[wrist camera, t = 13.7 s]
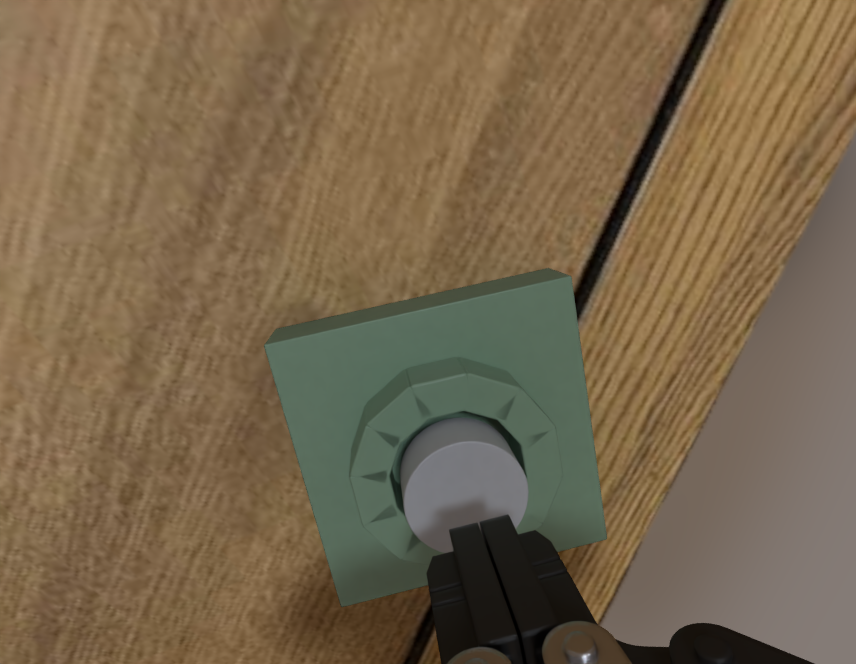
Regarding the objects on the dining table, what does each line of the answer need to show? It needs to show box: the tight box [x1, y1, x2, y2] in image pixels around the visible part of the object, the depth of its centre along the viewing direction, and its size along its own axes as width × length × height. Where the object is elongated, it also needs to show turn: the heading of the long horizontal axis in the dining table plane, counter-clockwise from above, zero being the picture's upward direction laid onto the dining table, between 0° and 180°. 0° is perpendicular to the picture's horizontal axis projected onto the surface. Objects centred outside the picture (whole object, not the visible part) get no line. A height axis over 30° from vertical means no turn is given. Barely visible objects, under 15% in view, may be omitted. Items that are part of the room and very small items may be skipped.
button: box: [400, 418, 529, 553], centre depth 16 cm, size 4×4×2 cm
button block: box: [264, 268, 607, 607], centre depth 18 cm, size 10×10×4 cm
